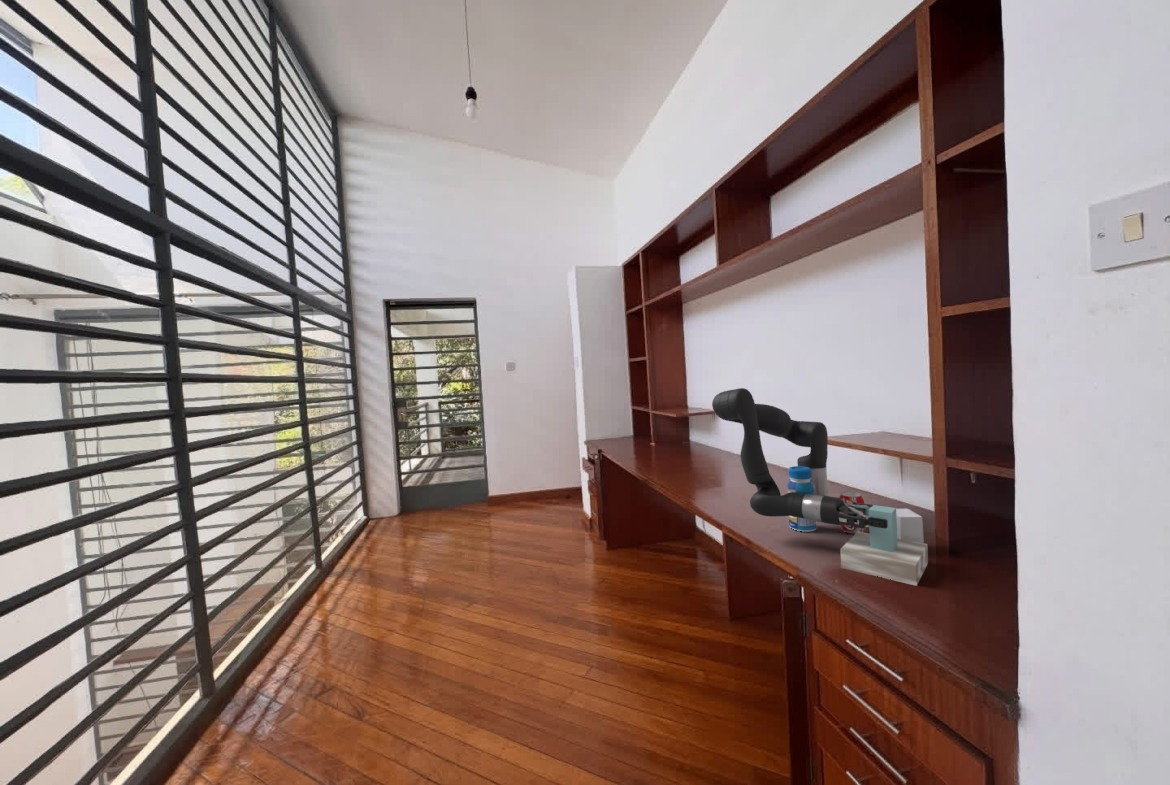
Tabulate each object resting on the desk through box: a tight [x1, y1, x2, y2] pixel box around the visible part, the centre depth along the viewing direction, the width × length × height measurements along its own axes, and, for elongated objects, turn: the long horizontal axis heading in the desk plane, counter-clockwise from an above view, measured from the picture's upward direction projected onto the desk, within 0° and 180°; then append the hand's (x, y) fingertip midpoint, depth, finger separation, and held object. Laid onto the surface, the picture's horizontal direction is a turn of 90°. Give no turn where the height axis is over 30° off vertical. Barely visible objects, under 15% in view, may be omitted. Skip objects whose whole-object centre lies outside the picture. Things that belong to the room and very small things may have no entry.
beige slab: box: [839, 531, 929, 586], centre depth 115 cm, size 16×16×5 cm
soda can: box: [838, 490, 866, 535], centre depth 139 cm, size 7×7×12 cm
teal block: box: [868, 504, 898, 552], centre depth 115 cm, size 5×5×10 cm
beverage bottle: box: [786, 465, 817, 533], centre depth 144 cm, size 8×8×20 cm
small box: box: [896, 508, 925, 544], centre depth 124 cm, size 8×6×10 cm
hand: (891, 519), depth 113 cm, fingers open, 8 cm apart
